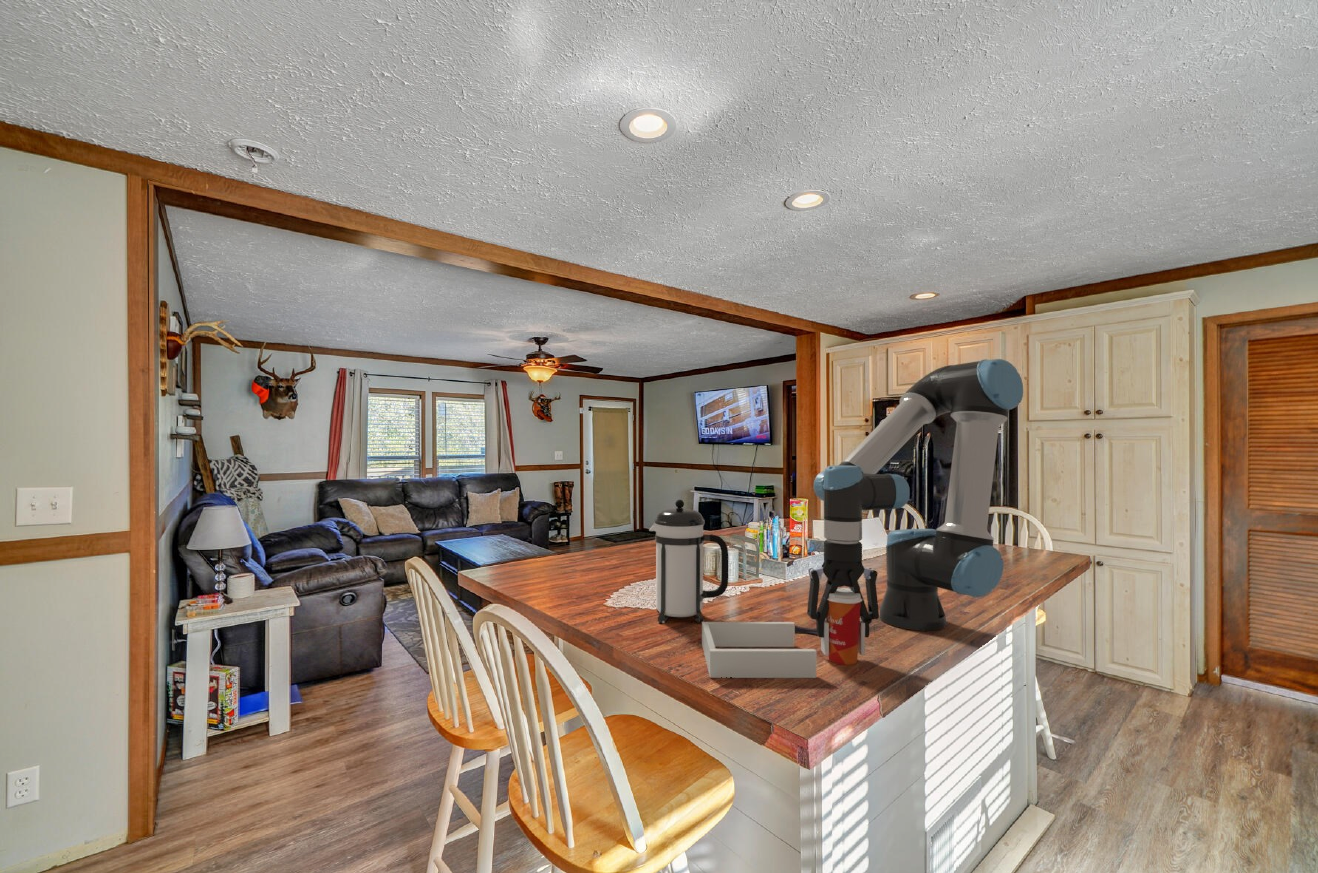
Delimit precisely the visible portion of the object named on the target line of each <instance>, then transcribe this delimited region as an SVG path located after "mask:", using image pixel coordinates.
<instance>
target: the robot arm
mask: <svg viewBox="0 0 1318 873" xmlns="http://www.w3.org/2000/svg"><path fill="white" fill-rule="evenodd" d="M1023 398H1024V383H1023V379H1022V377H1021V374H1020V373H1019V372H1018V369H1017V368H1016V367H1015V366H1014V365H1013V364H1012V363H1011V362H1009V361H1007V360H1006V359H1002V358H994V359H993V358H992V359H986V358H985V359H982V360H978V361H971V362H970V361H969V362H966V363H965V362H964V363H958V364H950V365H944V366H942V367H939V368H937V369H934V370H932V371H930V372H929V373H928V374H926V375H925V376H922V378H920V379H919V380H918V381H916V382H915V383H914V384H913V385H912V386H911V387H910V388H908V389H907V390H906V391H905V393H903V394H902V395H901V396H900V398H899V404H898V405H897V406H896V407H895V408H894V409H893V410H892V411H891V412H890V413H889V414H888V415H887V416H886V417H885V418H884V419H883V420H882V421H881V422H880V423H879V424H878V425H877V426H876V427H875V428H874V429H873V430H872V431H871V432H870V433H869V434H868V435H867V436H866V437H865V438H864V439H863V440H862V441H861V442H860V444H858V445H857V446H856V447H855V448H854V449H853V450H852V451H851V452H850V453H849V454H848V455H847V456H846V457H845V458H844V459H843V460H842V461H841V462H840V463H839V464H838V465H835V464H834V465H828V466H826V467H825V469H824V470H823V471H821V472H819V473H818V474H817V475H816V476H815V478H814V480H813V491H814V493H815V496H816V497H817V498H818V499H819V500H820V501H823V537H824V539H825V540H824V541H823V563H822V565H821V567H818V568H812V567H811V568H810V567H809V569H808V575H809V578H810V581H809V582H810V583H809V592H808V600H807V602H808V603H807V610H806V614H807V615H808V617H809V618H810V619H812V620H815V621H816V628H815V629H816V633H817V635H816V636H817V637H819V638H820V651H821V652H822V653H823V655H824V656H828V655H829V623H828V622H827V621H826V616H827V613H828V610H829V600H827V599H829V594H830V593H835V592H836V591H837V588H843V587H847V588H848V589H851V591H853V592H854V593H860V596H861V599H862V601H861V607H860V624H859V641H858V654H860V655H861V656H866V638H869V637H870V624H871V623H872V621H873V620H878V619H880V621H882V622H883V623H885V624H888V625H890V626H893V627H897V628H900V629H905V630H911V631H923V632H924V631H926V632H928V631H929V632H930V631H933V632H934V631H938V630H942V629H945V628H946V625H947V618H946V617H947V616H946V614H945V611H944V607H943V605H942V602H941V601H942V600H941V599H940V596H939V588H940V589H943V590H947V591H950V592H953V593H956V594H958V595H961V596H969V597H973V598H980V597H985V596H987V595H989V594H990V593H991V592H992V591H993V590H994V589H996V588H997V586H998V585H999V584H1000V581H1001V579H1002V578H1003V573H1004V559H1003V558H1002V556H1003V555H1002V553H1001V552H1000V551H999V550H998V549H997V548H995V547H994V537H993V536H992V534H990V532H989V531H988V522H989V515H990V514H989V513H990V506H991V497H992V490H993V488H992V487H993V480H994V472H995V463H996V454H997V445H998V436H999V429H1000V428H999V427H1000V426H1001V425H1003V424H1004V423H1005V422H1007V421H1008V419H1009V418H1008V417H1009V411H1010V410H1013V409H1014V408H1017V407H1018V406H1019V405H1020V403H1021V402H1022V400H1023ZM947 413H950V417H951V418H952V419H953V420H954V421H955V422H956V426H955V427H956V428H955V434H954V436H955V437H954V443H953V444H954V445H953V452H952V460H951V466H950V467H951V468H950V477H949V484H948V485H949V486H948V490H947V491H948V493H947V500H946V507H945V517H944V523H943V524H941V525H940V526H939V527H937V528H936V529H933V528H906V529H905V528H904V529H893V530H891V531H889V532H888V533H887V536H886V537H887V538H886V545H885V548H886V549H885V550H886V553H885V554H886V590H885V593H884V595H883V599H882V601H881V603H880V607H879V603H878V594H877V585H876V584H877V583H876V582H877V579H878V574H879V573H878V571H876V570H875V569H873V568H870V567H869V568H868V567H867V568H866V567H864V564H863V544H862V542H860V541H861V540H862V539H863V512H864V511H865V512H866V511H879V510H881V511H883V510H888V511H892V510H895V509H901V508H904V507H905V506H906V504H907V503H908V501H909V500H910V496H911V495H910V494H911V493H910V490H911V489H910V486H909V483H908V481H907V480H906V479H905V478H904V477H903V476H902V475H899V474H892V473H882V474H880V473H879V474H878V472H879V471H880V470H881V469H882V468H883V467H884V466H885V465H886V464H887V463H888V462H889V460H891V458H893V457H894V455H895V454H897V452H899V451H900V449H901V448H902V447H903V446H904V445H905V444H906V443H907V442H908V441H909V440H910V439H911V438H912V437H913V436H914V435H915V434H916V433H917V432H918V430H920V429H921V428H922V427H923V426H924V425H928V424H931V423H933V421H934V420H936V418H938V417H939V416H941V415H944V414H947ZM822 575H824V576H825V577H826V579H827V580H826V583H825V589H824V590H823V594H822V597H821V599H820V602H819V592H820V580H821V579H822ZM862 575H863V578H864V580H865V591H866V601H867V606H866V603H865V600H864V596H863V594H862V592H861V587H860V585H859V584H860V583H859V580H860V578H861V577H862ZM818 604H819V605H818ZM867 608H868V609H867Z"/></svg>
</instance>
